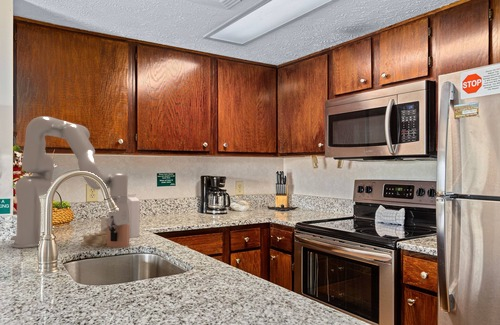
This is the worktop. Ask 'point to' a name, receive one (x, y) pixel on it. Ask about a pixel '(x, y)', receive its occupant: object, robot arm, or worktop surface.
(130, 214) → the milk
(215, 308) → the worktop surface
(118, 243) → the pink square slab
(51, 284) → the worktop surface
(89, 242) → the rack
